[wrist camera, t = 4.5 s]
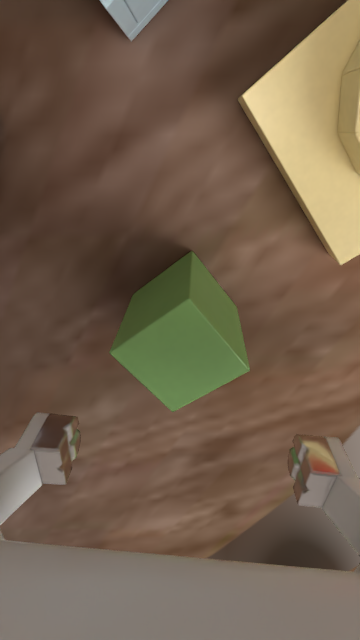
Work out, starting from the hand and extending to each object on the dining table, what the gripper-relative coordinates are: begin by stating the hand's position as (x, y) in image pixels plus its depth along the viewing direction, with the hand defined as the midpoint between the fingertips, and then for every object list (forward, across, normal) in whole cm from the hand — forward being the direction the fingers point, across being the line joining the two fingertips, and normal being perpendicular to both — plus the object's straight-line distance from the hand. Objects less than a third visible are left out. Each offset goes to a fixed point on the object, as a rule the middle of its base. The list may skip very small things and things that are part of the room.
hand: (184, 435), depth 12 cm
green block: (+9, 0, -1) cm, 9 cm away
